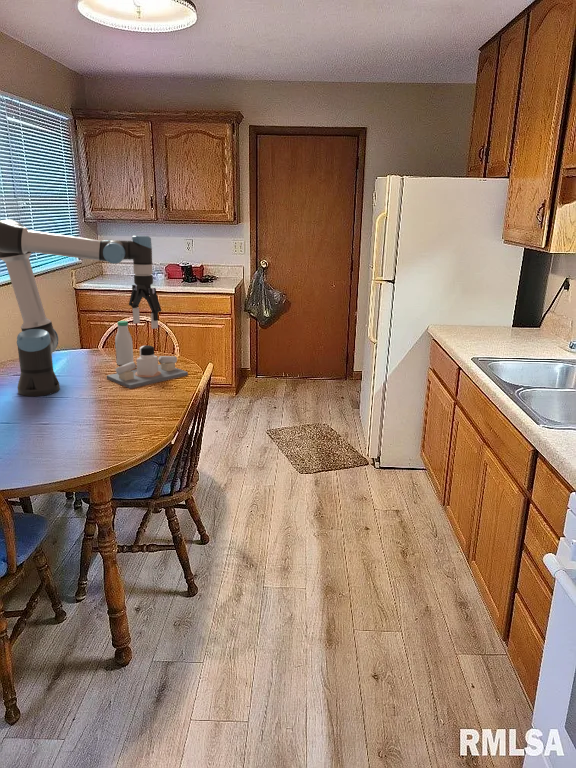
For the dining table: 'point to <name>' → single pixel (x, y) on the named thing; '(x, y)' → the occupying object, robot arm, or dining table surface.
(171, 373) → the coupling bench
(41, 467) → the dining table surface
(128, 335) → the milk bottle
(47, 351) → the robot arm
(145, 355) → the medicine bottle
